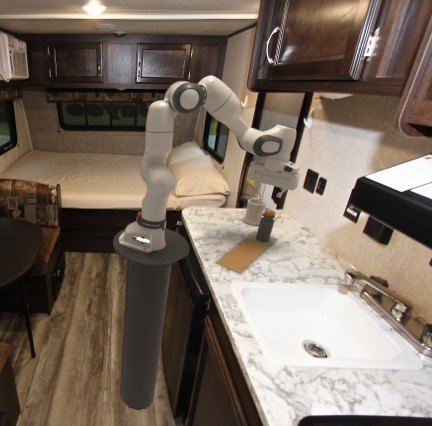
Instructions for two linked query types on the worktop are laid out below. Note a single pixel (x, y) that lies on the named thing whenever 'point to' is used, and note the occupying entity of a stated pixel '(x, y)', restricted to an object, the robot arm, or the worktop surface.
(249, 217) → the cup
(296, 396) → the worktop surface
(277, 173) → the robot arm
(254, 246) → the plate
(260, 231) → the bottle
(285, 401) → the worktop surface
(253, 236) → the pad
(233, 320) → the worktop surface
